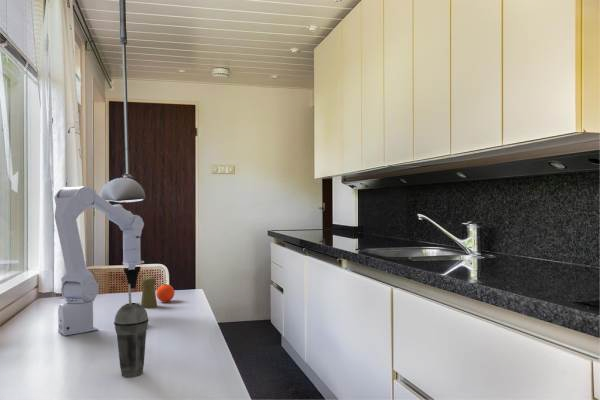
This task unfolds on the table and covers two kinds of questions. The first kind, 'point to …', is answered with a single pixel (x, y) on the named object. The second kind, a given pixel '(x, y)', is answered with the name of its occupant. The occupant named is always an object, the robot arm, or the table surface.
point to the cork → (148, 293)
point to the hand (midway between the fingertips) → (132, 288)
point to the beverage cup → (131, 337)
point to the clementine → (165, 293)
